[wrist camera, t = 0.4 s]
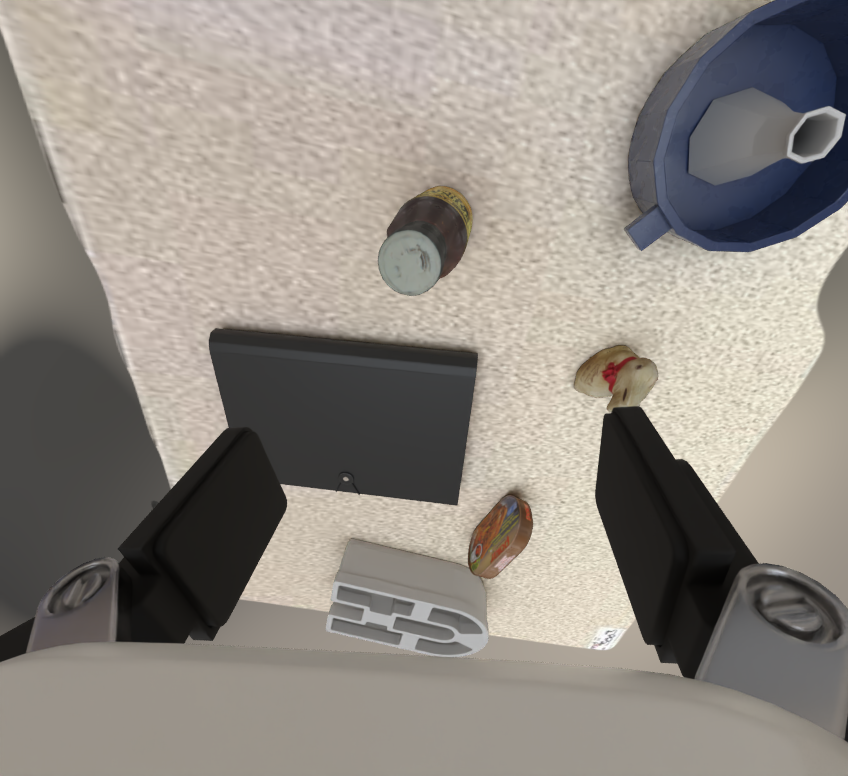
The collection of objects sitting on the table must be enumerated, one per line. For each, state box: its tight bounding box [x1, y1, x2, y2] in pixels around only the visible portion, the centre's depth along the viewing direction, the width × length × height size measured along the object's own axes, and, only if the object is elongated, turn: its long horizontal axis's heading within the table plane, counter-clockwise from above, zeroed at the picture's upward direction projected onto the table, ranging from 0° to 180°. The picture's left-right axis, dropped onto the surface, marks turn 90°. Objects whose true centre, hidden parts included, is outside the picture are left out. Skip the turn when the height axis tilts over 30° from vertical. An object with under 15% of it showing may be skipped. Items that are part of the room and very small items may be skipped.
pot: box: [624, 0, 848, 252], centre depth 32 cm, size 17×22×6 cm
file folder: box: [209, 328, 478, 505], centre depth 54 cm, size 33×4×24 cm
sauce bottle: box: [378, 186, 473, 296], centre depth 32 cm, size 7×6×20 cm
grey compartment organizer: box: [326, 538, 488, 657], centre depth 71 cm, size 17×28×9 cm, turn 77°
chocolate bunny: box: [574, 345, 658, 412], centre depth 43 cm, size 6×8×10 cm
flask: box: [688, 87, 846, 186], centre depth 30 cm, size 7×7×10 cm
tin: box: [468, 495, 533, 579], centre depth 59 cm, size 15×3×8 cm, turn 154°
